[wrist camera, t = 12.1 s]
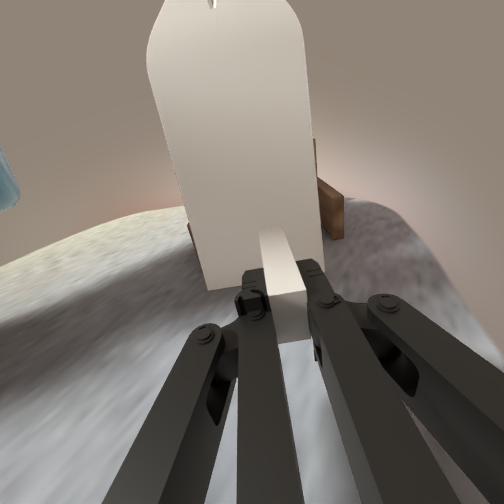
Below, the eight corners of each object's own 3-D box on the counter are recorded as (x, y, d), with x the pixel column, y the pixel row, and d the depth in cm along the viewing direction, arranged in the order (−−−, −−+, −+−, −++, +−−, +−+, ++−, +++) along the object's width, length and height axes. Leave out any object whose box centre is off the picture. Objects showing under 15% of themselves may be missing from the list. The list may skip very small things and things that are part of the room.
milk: (220, 238, 34) (151, -15, 22) (301, 224, 33) (275, -48, 21) (207, 290, 24) (58, -143, 11) (325, 272, 23) (303, -222, 10)
